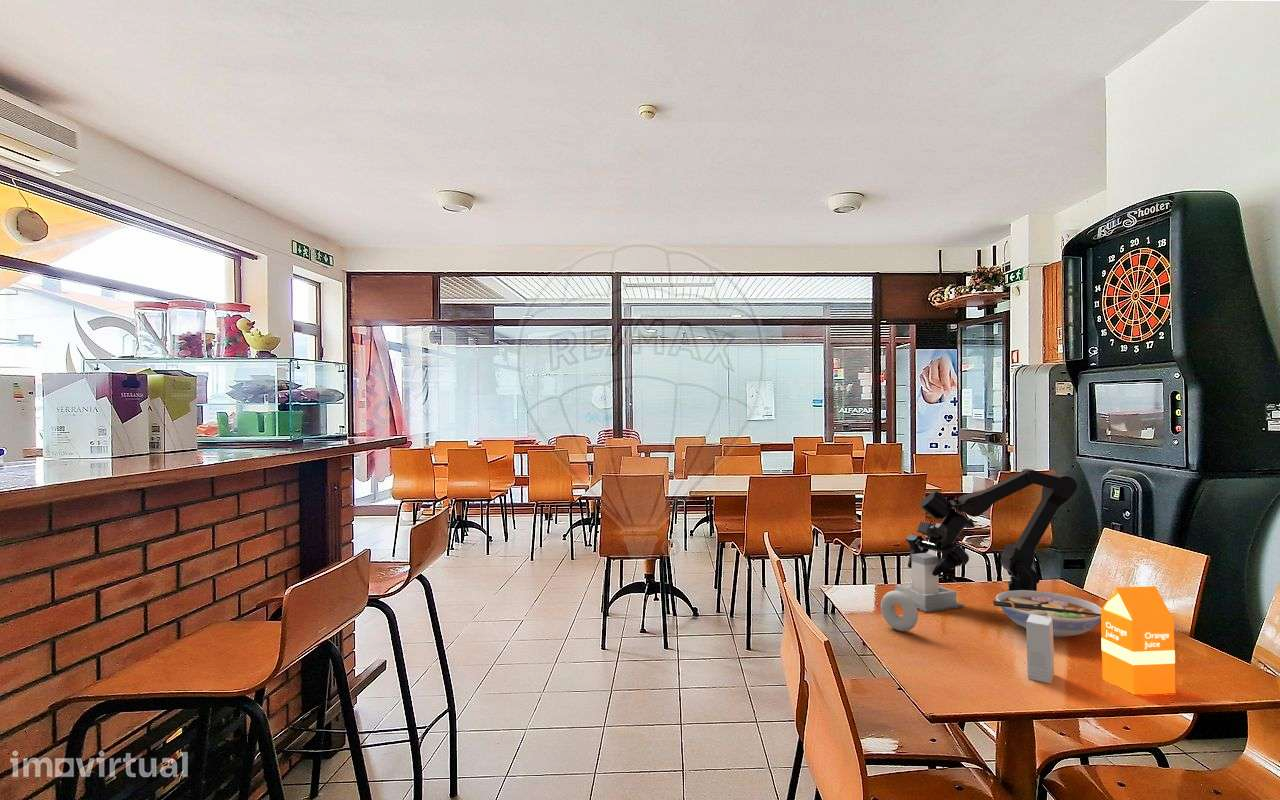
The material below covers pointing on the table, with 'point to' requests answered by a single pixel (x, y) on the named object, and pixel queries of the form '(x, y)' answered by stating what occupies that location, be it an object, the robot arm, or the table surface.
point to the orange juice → (1138, 641)
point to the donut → (907, 606)
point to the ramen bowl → (1050, 610)
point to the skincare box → (1040, 648)
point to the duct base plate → (939, 607)
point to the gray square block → (924, 573)
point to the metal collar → (929, 596)
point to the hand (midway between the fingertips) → (920, 571)
